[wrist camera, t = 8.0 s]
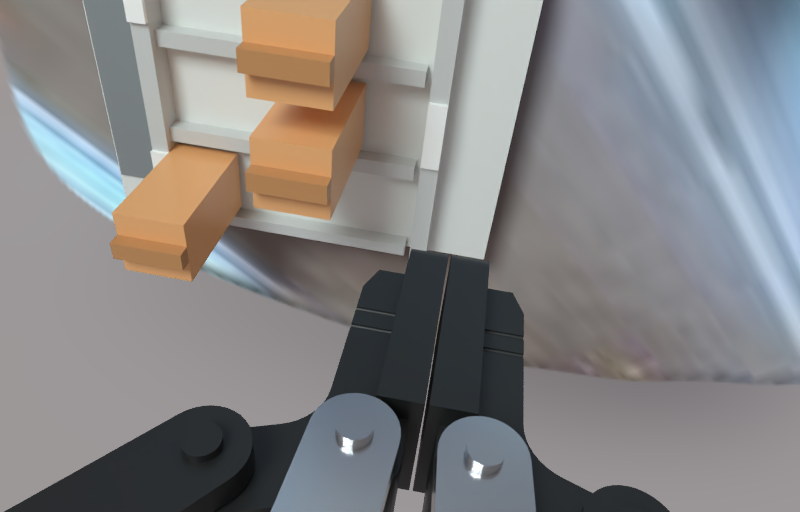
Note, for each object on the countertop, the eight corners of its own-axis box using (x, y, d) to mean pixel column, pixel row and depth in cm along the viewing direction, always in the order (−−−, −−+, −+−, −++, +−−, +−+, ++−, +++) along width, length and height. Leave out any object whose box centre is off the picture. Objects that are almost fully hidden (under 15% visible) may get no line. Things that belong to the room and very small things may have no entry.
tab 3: (366, 83, 26) (327, 159, 21) (362, 145, 28) (326, 229, 23) (297, 72, 27) (242, 145, 21) (298, 135, 28) (248, 215, 23)
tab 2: (373, -30, 24) (330, 26, 18) (368, 48, 25) (328, 118, 20) (296, -41, 24) (233, 11, 19) (297, 37, 26) (239, 104, 20)
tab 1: (237, 153, 30) (176, 234, 24) (241, 205, 31) (186, 290, 26) (177, 143, 30) (104, 221, 25) (184, 195, 32) (118, 278, 26)
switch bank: (550, -49, 24) (552, -27, 22) (485, 236, 33) (482, 277, 30) (87, -113, 26) (37, -99, 23) (144, 178, 34) (112, 212, 32)
